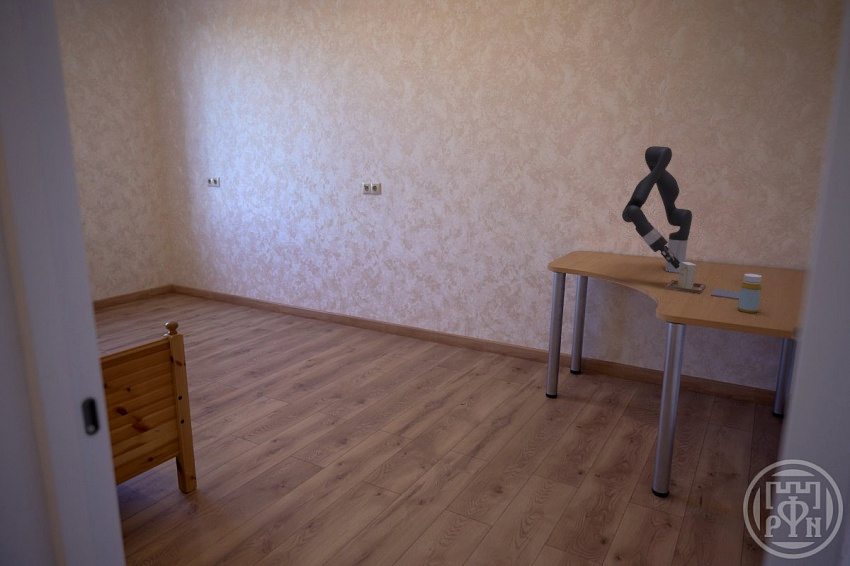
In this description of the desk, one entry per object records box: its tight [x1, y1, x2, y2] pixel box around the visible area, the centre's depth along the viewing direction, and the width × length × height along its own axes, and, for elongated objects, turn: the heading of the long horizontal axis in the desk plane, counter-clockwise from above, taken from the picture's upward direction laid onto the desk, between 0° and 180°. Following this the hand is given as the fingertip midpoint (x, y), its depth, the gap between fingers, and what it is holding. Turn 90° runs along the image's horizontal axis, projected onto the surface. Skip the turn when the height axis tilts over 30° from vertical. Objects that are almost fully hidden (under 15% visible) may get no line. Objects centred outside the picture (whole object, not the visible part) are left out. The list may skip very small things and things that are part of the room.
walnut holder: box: [664, 279, 706, 295], centre depth 264 cm, size 15×15×2 cm
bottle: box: [737, 273, 763, 314], centre depth 227 cm, size 7×7×15 cm
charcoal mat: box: [710, 288, 741, 301], centre depth 254 cm, size 13×12×1 cm
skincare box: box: [677, 261, 697, 289], centre depth 263 cm, size 6×4×12 cm
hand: (678, 265), depth 263 cm, fingers open, 8 cm apart
